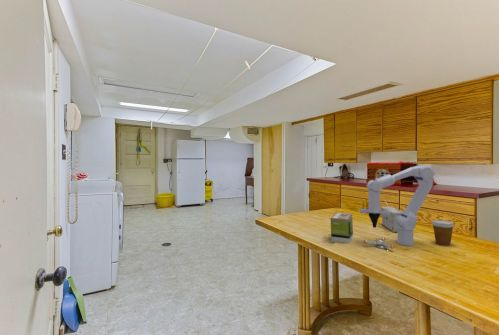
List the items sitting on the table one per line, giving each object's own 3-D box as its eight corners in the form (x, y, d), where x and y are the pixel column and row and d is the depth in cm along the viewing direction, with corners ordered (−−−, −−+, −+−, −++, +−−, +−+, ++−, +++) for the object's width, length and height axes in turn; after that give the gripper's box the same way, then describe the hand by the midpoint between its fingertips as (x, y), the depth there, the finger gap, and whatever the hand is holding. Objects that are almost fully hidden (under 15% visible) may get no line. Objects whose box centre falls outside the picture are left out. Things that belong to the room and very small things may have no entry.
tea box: (336, 235, 153) (335, 212, 152) (353, 237, 147) (353, 213, 147) (330, 242, 140) (330, 217, 139) (349, 245, 135) (349, 218, 134)
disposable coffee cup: (448, 241, 137) (448, 220, 136) (458, 247, 128) (458, 224, 127) (429, 240, 139) (428, 219, 139) (436, 246, 130) (436, 223, 130)
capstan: (363, 245, 130) (363, 238, 130) (383, 242, 135) (382, 235, 135) (382, 253, 118) (382, 246, 118) (403, 249, 123) (403, 242, 123)
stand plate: (370, 243, 137) (370, 240, 137) (393, 246, 131) (393, 243, 131) (366, 251, 125) (366, 247, 125) (391, 255, 119) (391, 251, 119)
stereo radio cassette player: (406, 233, 154) (406, 201, 153) (392, 232, 155) (392, 201, 155) (392, 224, 174) (392, 196, 174) (380, 224, 176) (379, 196, 175)
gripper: (358, 202, 134) (359, 227, 134) (388, 204, 126) (389, 230, 126) (360, 200, 140) (361, 224, 140) (390, 202, 132) (390, 227, 132)
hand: (374, 227), depth 134 cm, fingers closed
